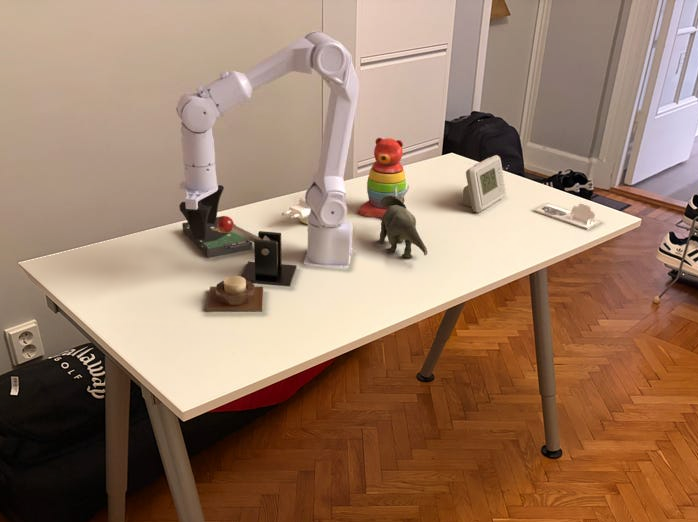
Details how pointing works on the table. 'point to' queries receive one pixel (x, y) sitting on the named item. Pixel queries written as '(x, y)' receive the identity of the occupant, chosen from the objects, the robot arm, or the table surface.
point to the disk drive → (218, 241)
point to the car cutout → (571, 215)
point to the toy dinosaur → (399, 225)
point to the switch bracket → (269, 263)
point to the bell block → (235, 299)
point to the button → (234, 284)
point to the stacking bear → (384, 176)
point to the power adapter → (299, 211)
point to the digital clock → (484, 184)
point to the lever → (237, 229)
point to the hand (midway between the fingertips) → (204, 230)
